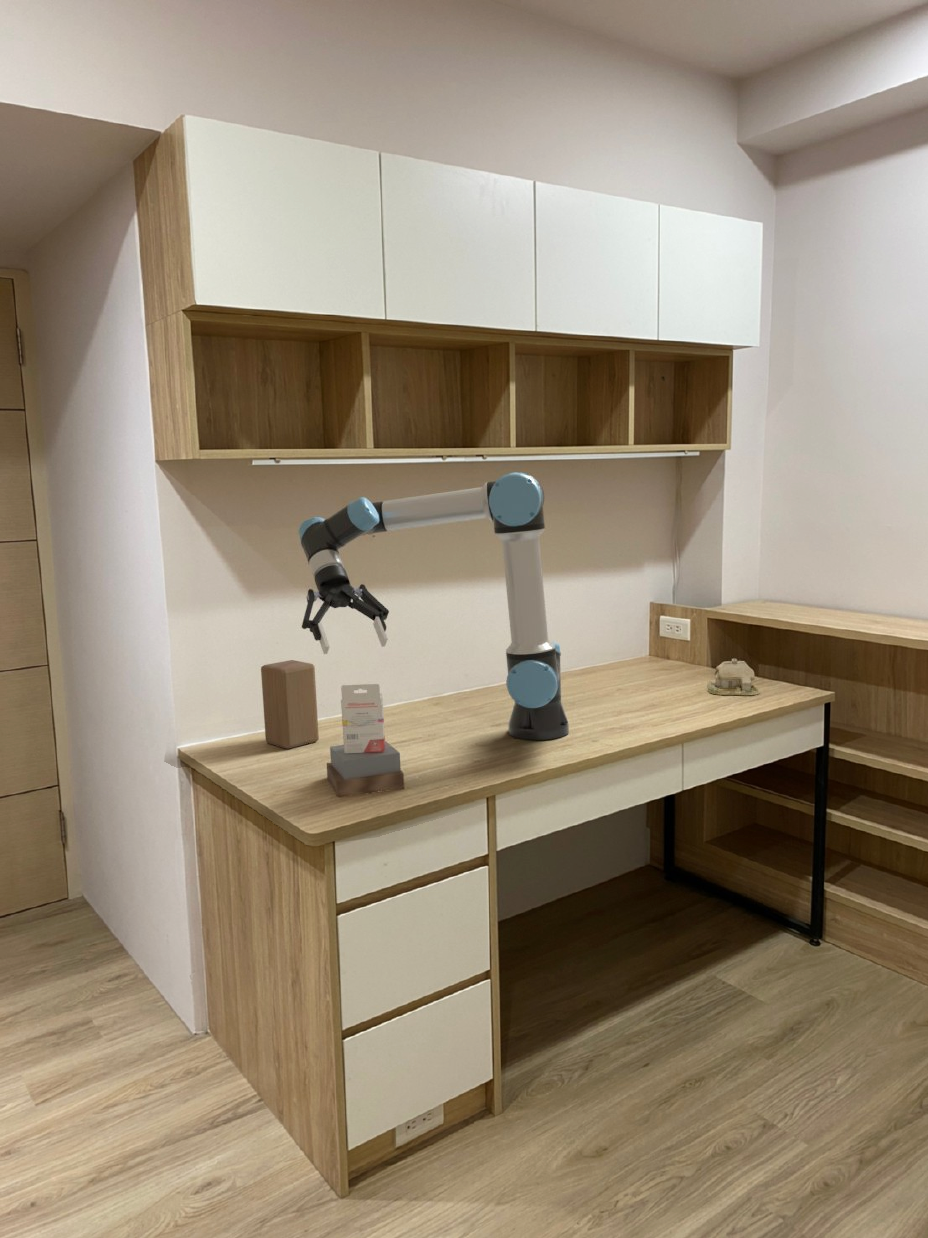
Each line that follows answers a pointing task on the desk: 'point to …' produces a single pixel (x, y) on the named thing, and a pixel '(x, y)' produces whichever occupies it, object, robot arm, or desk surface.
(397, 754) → the slate grey top slab
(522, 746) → the desk surface
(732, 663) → the ceramic model
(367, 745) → the ink cartridge box
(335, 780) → the walnut base slab
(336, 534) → the robot arm
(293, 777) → the desk surface
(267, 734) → the wooden block
